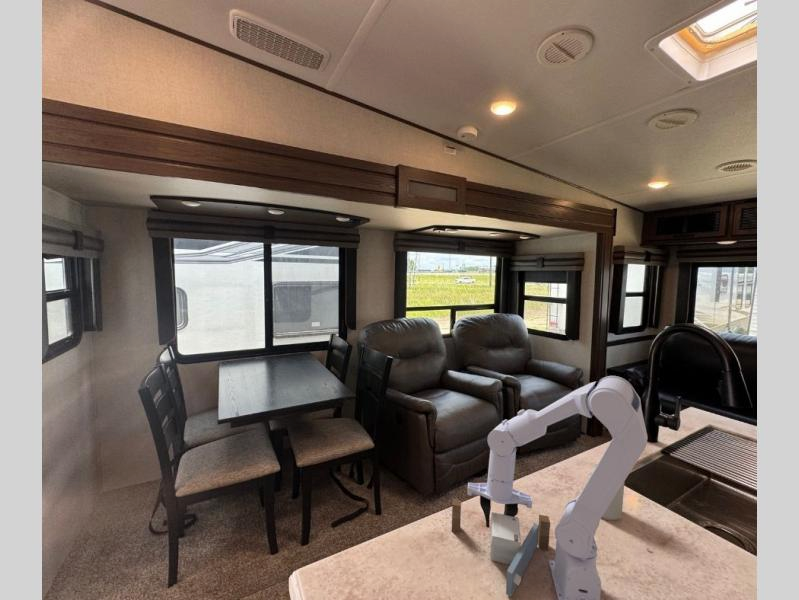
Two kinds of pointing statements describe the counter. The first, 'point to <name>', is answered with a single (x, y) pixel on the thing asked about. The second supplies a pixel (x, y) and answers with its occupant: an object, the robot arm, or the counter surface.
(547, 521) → the door frame
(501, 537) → the skincare box
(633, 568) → the counter surface
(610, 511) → the can
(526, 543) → the door leaf
